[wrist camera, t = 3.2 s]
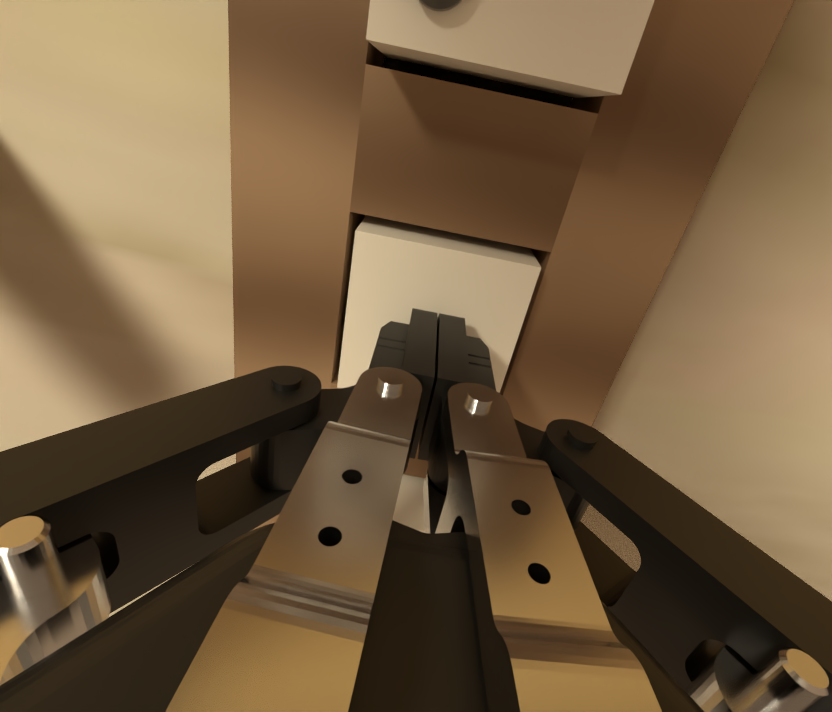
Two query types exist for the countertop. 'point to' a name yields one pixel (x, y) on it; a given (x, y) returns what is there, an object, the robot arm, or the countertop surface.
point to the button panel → (473, 183)
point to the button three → (517, 40)
